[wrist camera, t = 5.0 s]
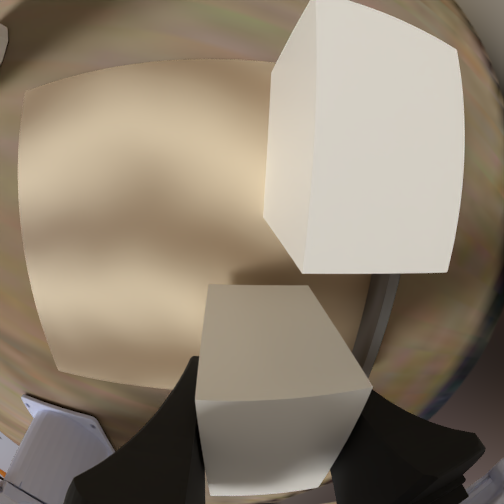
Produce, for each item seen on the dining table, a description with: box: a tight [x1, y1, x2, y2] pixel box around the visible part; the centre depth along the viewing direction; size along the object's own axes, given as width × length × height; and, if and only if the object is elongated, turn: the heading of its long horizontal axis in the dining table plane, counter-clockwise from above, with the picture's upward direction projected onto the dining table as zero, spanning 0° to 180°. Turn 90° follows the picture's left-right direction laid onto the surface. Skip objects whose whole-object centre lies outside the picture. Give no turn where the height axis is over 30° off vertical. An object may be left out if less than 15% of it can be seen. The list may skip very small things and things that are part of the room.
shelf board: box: [18, 59, 401, 389], centre depth 11 cm, size 16×18×2 cm
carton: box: [195, 284, 373, 496], centre depth 9 cm, size 4×6×6 cm
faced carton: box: [263, 0, 465, 274], centre depth 7 cm, size 4×6×6 cm
